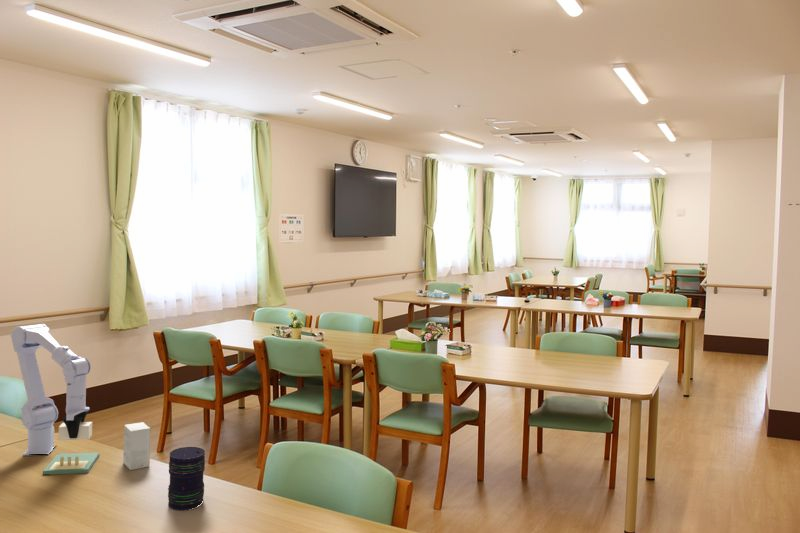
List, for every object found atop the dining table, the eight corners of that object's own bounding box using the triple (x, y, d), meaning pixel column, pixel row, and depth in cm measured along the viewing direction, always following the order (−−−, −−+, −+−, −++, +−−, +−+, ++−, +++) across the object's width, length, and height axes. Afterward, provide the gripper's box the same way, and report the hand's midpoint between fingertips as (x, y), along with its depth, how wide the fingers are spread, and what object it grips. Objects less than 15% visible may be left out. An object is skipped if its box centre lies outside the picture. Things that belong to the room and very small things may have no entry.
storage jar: (165, 512, 171) (167, 459, 170) (169, 497, 180) (170, 447, 179) (203, 509, 173) (204, 457, 172) (204, 494, 183) (206, 445, 182)
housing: (62, 435, 204) (62, 422, 204) (92, 434, 206) (92, 421, 206) (58, 440, 200) (58, 426, 199) (88, 439, 202) (88, 426, 201)
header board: (57, 457, 206) (57, 446, 206) (99, 455, 209) (99, 445, 209) (42, 474, 192) (42, 462, 191) (87, 472, 195) (88, 461, 194)
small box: (149, 466, 202) (150, 428, 201) (129, 470, 198) (130, 431, 197) (142, 459, 208) (143, 421, 208) (122, 462, 204) (123, 424, 204)
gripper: (83, 400, 196) (82, 442, 197) (94, 389, 210) (94, 428, 211) (59, 401, 194) (58, 443, 195) (72, 389, 208) (71, 428, 209)
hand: (75, 435), depth 203 cm, fingers closed on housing, 5 cm apart
